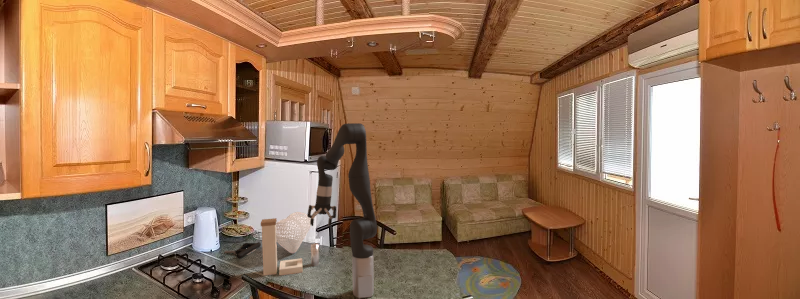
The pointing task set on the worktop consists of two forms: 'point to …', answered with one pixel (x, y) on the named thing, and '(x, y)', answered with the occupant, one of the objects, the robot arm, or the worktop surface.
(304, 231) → the heart
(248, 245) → the door handle
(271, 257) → the slotted post
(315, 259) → the steel pin
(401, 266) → the worktop surface
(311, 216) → the robot arm
